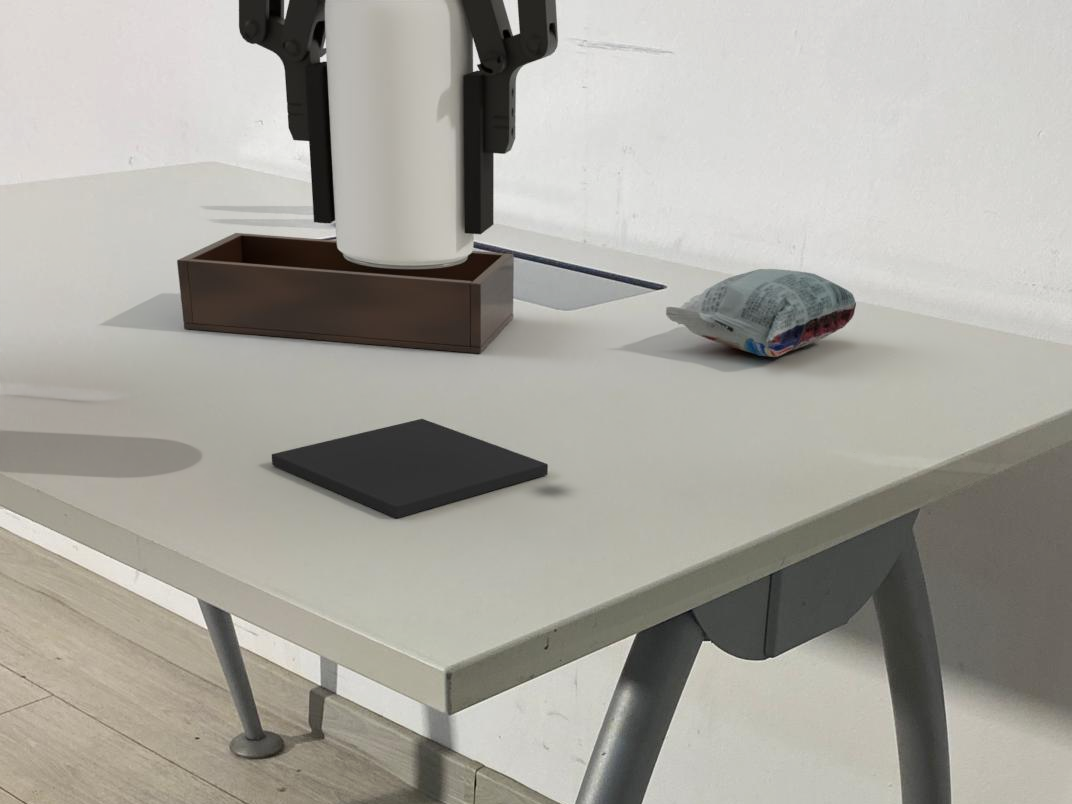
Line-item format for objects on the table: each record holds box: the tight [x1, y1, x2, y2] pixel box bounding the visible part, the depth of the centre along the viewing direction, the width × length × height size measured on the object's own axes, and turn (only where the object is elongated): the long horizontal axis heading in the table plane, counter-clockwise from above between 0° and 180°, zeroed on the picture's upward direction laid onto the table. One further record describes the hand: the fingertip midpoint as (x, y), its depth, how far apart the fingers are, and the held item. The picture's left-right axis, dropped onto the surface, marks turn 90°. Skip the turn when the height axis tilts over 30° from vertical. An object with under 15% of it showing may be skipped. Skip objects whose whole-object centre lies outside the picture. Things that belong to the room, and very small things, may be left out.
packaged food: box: [665, 268, 857, 358], centre depth 97 cm, size 9×12×5 cm
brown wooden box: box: [176, 232, 515, 354], centre depth 98 cm, size 20×10×4 cm, turn 81°
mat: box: [271, 418, 549, 519], centre depth 73 cm, size 10×10×1 cm
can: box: [325, 0, 475, 269], centre depth 65 cm, size 6×6×12 cm
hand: (404, 222), depth 67 cm, fingers closed on can, 6 cm apart
